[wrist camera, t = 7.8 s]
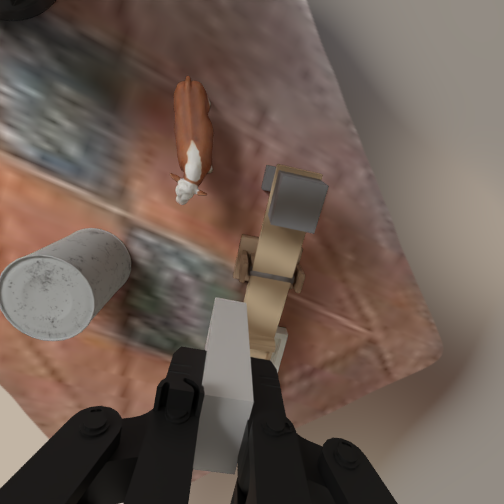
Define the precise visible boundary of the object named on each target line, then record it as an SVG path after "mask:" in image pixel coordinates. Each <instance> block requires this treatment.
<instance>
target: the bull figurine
mask: <svg viewBox="0 0 504 504" xmlns="http://www.w3.org/2000/svg"><path fill="white" fill-rule="evenodd" d="M210 106H211V103H210V101H209V99H208V96H207V93H206V91H205V89H204V87H203V85H202V84H201V83H200V82H198V81H191V79H190V77H189V76H186V79H185V81H182V82H179V83H178V84H177V87H176V90H175V92H174V112H175V124H174V133H175V138H176V146H177V156H178V161H179V165H180V168H181V170H182V171H183V172H184V178H183V179H181V178H180V177H179V176H177V175H174V174H172V173H170V176H171V177H172V179H174V180H175V181H176V182H177V183H178V185H177V187H176V194H177V197H176V201H177V202H178V203H179V204H181V205H184V204H186V203H187V202H188V200H189V199H190V198H192V197H193V195H194V194H197V195H199V196H205V195H207V193H205V192H203V191H201V190H199V189H198V186H199V185H200V184H201V183H202V181H203V179H204V177H205V176H206V174H207V173H212V171H213V168H212V166H211V165H212V147H213V127H212V123H211V121H210V119H209V117H208V112H209V110H210Z"/></svg>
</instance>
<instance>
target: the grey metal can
mask: <svg viewBox="0 0 504 504" xmlns="http://www.w3.org/2000/svg"><path fill="white" fill-rule="evenodd" d="M130 272H131V258H130V254H129V252H128V250H127V248H126V246H125V245H124V244H123V243H122V241H121V240H120V239H118V238H117V237H116V236H115V235H113V234H111V233H109V232H108V231H105V230H101V229H96V228H87V229H82V230H79V231H76V232H74V233H73V234H71V235H69V236H67V237H65V238H63V239H61V240H59V241H57V242H55V243H52V244H50V245H48V246H46V247H44V248H42V249H40V250H38V251H36V252H33V253H31V254H29V255H27V256H24V257H21V258H18V259H17V260H15V261H14V262H12V263H11V264H9V265H8V266H7V267H6V268H5V270H4V271H3V272H2V274H1V276H0V309H1V311H2V312H3V314H4V316H5V317H6V319H7V320H8V321H9V322H10V323H11V324H12V325H13V326H14V327H15V328H17V329H18V330H19V331H21V332H22V333H24V334H26V335H28V336H30V337H33V338H36V339H40V340H45V341H60V340H65V339H68V338H72V337H74V336H76V335H77V334H79V333H81V332H82V331H83V330H84V329H85V328H86V327H87V326H88V325H89V323H90V321H91V320H92V319H93V318H94V317H95V315H96V314H97V313H98V312H99V311H100V310H101V309H102V308H103V306H104V305H105V304H106V303H107V302H108V301H109V300H110V298H111V297H112V296H113V295H114V294H115V293H116V292H117V291H118V289H119V288H121V287H122V286H123V285H124V284H125V283H126V281H127V279H128V277H129V275H130Z"/></svg>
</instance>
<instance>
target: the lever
mask: <svg viewBox="0 0 504 504" xmlns="http://www.w3.org/2000/svg"><path fill="white" fill-rule="evenodd" d="M322 176H323V175H322V174H319V173H315V172H311V171H306V170H302V169H298V168H293V167H289V166H285V165H280V164H277V167H276V171H275V175H274V179H273V183H272V187H271V191H270V195H269V200H268V204H267V208H266V212H265V216H264V220H263V224H262V228H261V232H260V236H259V240H258V244H257V249H256V253H255V257H254V261H253V265H252V266H250V267H249V271H248V276H250V277H249V281H248V285H247V289H246V293H245V298H244V303H246V304H247V318H248V332H249V345H250V357H254V358H260V359H266V360H270V359H271V356H272V353H274V352H275V349H276V346H275V339H274V337H275V334H276V331H277V327H278V324H279V321H280V317H281V314H282V311H283V307H284V304H285V300H286V297H287V294H288V290H289V287H290V284H293V283H294V279H295V275H294V270H295V267H296V264H297V260H298V257H299V253H300V250H301V247H302V243H303V240H304V237H305V233H306V232H309V233H313V234H314V232H315V229H316V226H317V223H318V219H319V216H320V213H321V210H322V206H323V203H324V200H325V197H326V193H327V190H328V187H329V186H328V185H327V184H325V183H324V182H323V181H321V180H322Z"/></svg>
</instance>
